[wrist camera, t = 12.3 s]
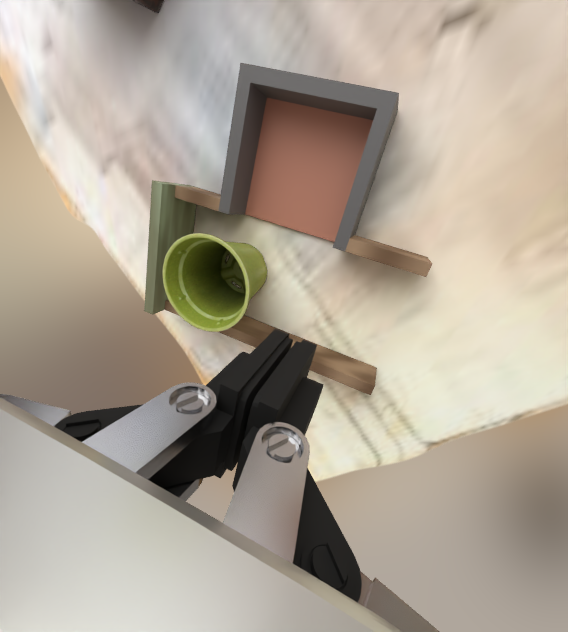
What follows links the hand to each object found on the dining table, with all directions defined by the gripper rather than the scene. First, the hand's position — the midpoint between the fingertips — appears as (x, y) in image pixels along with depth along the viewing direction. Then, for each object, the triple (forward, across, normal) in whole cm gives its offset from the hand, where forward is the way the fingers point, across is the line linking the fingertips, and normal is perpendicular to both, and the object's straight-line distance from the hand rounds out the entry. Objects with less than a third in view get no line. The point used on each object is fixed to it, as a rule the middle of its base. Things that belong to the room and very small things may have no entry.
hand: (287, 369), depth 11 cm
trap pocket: (+22, +8, -7) cm, 25 cm away
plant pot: (+22, +12, +4) cm, 26 cm away
